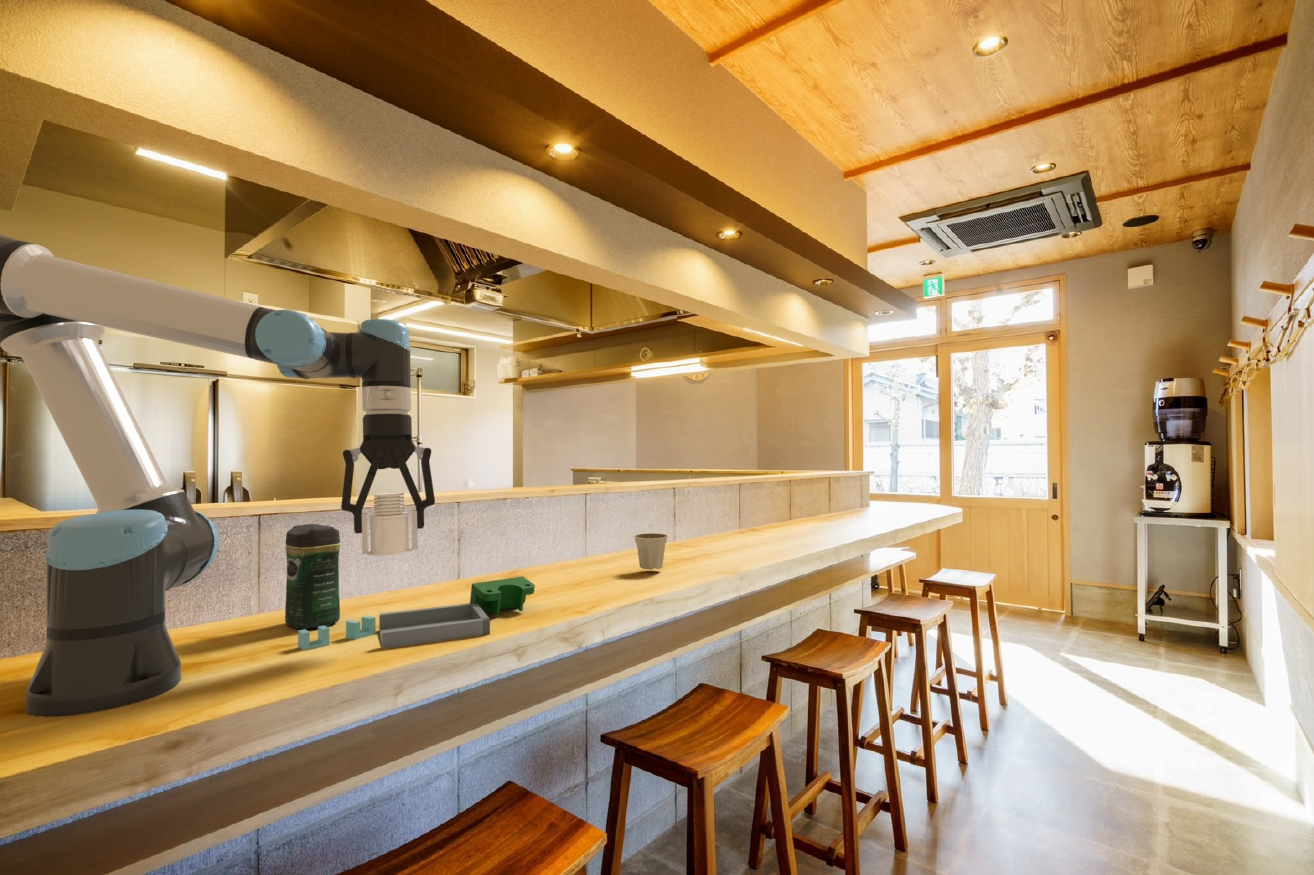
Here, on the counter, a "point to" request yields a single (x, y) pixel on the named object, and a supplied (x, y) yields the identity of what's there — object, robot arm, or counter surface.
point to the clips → (351, 633)
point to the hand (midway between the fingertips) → (390, 550)
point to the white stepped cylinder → (389, 526)
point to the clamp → (501, 594)
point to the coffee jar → (312, 576)
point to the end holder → (432, 625)
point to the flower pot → (651, 549)
